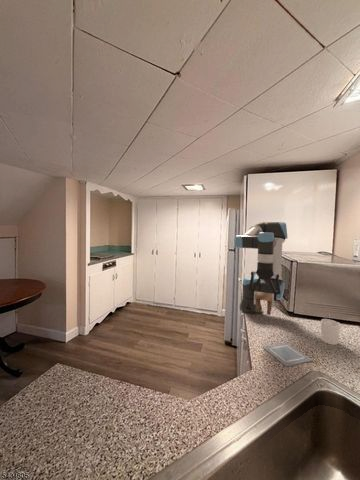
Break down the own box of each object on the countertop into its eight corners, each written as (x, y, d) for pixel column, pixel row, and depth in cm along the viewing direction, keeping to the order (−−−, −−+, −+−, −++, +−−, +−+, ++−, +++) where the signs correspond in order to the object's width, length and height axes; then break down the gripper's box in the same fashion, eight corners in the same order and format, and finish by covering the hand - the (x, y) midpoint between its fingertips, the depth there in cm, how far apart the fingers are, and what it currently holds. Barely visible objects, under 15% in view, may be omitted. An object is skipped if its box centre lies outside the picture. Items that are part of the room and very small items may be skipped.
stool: (254, 312, 105) (254, 295, 105) (256, 307, 112) (257, 291, 112) (271, 315, 101) (271, 298, 101) (272, 310, 108) (273, 293, 108)
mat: (262, 347, 96) (262, 346, 96) (286, 343, 100) (286, 342, 100) (285, 366, 83) (286, 365, 83) (312, 361, 87) (312, 360, 87)
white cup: (339, 347, 98) (340, 327, 98) (319, 342, 103) (320, 322, 102) (339, 340, 104) (340, 321, 104) (320, 335, 109) (321, 317, 109)
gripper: (243, 261, 107) (241, 303, 108) (287, 264, 97) (285, 311, 98) (245, 259, 114) (244, 299, 115) (287, 262, 104) (286, 306, 105)
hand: (263, 305), depth 106 cm, fingers closed on stool, 8 cm apart
